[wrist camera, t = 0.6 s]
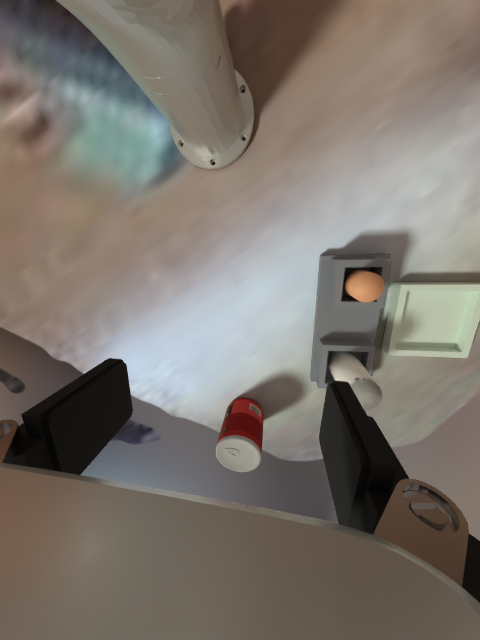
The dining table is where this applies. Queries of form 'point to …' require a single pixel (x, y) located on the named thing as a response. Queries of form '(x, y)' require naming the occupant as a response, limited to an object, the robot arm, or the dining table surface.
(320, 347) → the housing
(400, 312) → the tray
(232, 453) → the canned food
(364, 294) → the tan rounded piece
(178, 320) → the dining table surface
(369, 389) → the cylinder
